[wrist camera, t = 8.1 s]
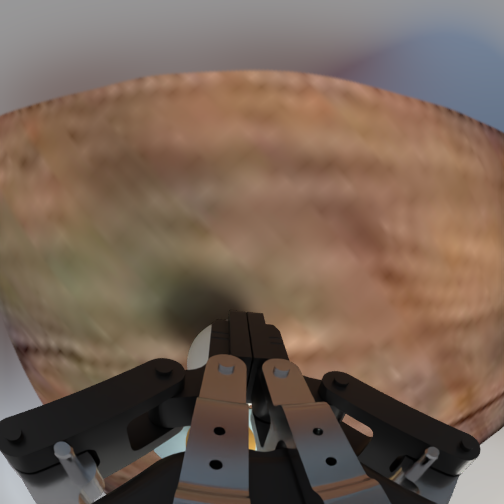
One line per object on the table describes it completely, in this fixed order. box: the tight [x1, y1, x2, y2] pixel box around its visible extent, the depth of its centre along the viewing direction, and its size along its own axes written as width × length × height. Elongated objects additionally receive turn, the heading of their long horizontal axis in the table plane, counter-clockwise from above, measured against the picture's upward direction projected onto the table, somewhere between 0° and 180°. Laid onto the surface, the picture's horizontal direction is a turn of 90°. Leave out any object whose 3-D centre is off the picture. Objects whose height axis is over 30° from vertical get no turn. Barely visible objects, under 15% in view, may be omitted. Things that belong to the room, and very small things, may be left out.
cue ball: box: [187, 324, 252, 405], centre depth 17 cm, size 6×6×6 cm
